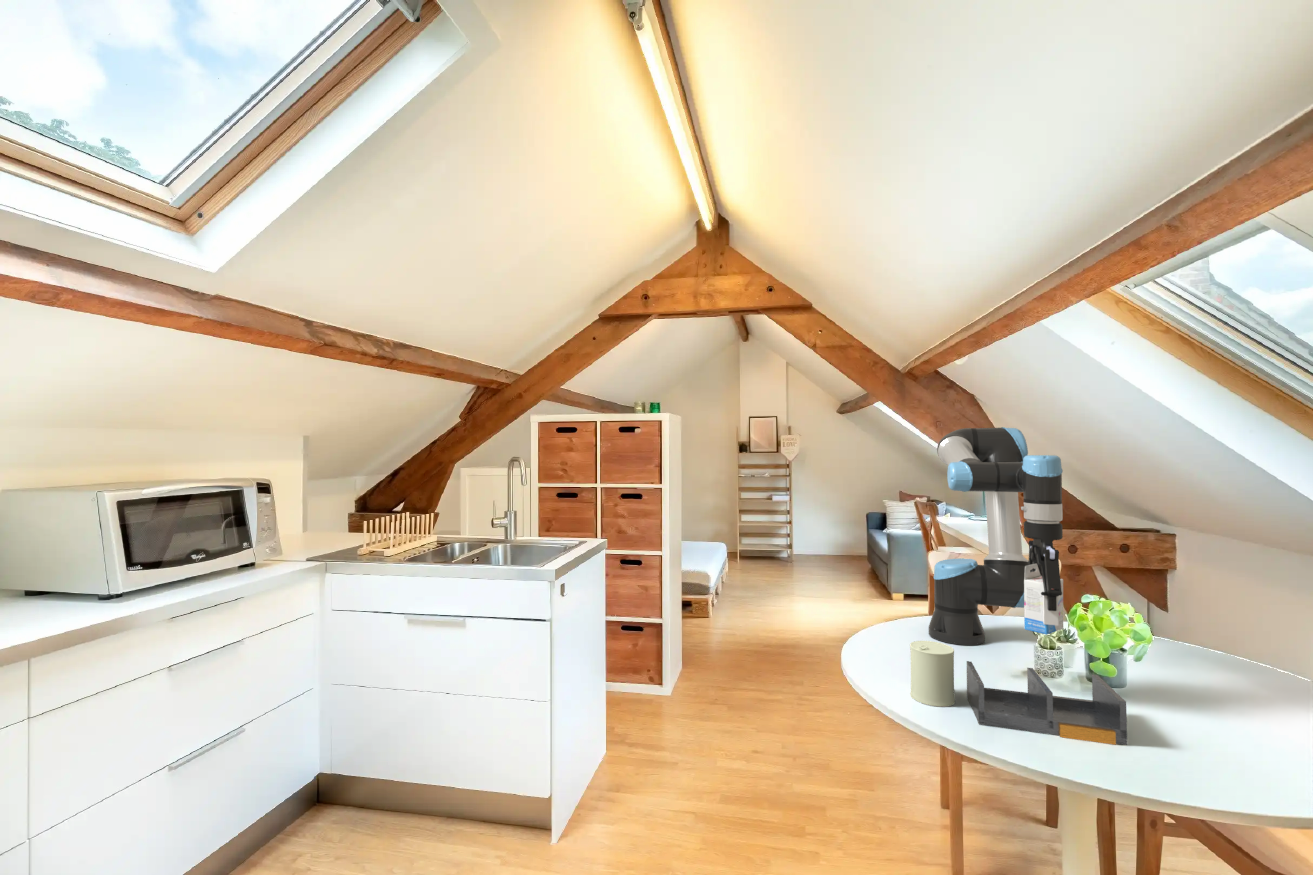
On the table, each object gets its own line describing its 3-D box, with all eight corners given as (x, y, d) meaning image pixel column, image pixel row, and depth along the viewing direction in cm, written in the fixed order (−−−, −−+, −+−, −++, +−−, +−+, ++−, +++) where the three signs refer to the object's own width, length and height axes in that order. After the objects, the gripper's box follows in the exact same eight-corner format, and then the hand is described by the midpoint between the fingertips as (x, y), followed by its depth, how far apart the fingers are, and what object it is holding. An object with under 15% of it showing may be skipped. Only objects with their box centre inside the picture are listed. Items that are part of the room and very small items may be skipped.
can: (901, 693, 133) (900, 641, 134) (930, 687, 137) (929, 636, 137) (934, 709, 125) (933, 654, 125) (964, 702, 128) (963, 648, 129)
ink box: (1047, 635, 129) (1047, 569, 129) (1023, 629, 133) (1022, 566, 134) (1064, 628, 134) (1063, 565, 134) (1040, 623, 138) (1040, 561, 138)
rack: (967, 697, 131) (966, 660, 131) (1098, 713, 123) (1097, 674, 123) (979, 725, 117) (979, 685, 118) (1128, 746, 109) (1127, 702, 109)
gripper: (1012, 515, 146) (1013, 604, 145) (1037, 526, 125) (1039, 630, 125) (1046, 516, 143) (1048, 606, 143) (1078, 528, 122) (1080, 634, 122)
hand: (1044, 617), depth 134 cm, fingers closed on ink box, 9 cm apart
